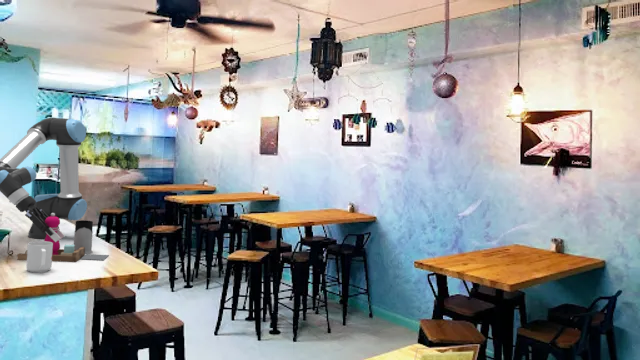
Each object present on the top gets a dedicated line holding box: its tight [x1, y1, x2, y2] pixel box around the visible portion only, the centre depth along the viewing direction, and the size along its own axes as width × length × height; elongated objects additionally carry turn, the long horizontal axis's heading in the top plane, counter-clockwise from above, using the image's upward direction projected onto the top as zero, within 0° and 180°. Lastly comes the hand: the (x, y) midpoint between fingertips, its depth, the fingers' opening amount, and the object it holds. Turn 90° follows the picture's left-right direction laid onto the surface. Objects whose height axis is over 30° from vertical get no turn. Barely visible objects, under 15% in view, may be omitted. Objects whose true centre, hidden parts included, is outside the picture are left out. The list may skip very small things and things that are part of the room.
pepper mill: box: [43, 213, 61, 255], centre depth 216 cm, size 7×7×20 cm
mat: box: [79, 253, 110, 261], centre depth 223 cm, size 10×10×1 cm
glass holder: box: [73, 219, 94, 255], centre depth 234 cm, size 9×14×15 cm, turn 27°
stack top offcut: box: [63, 244, 75, 253], centre depth 219 cm, size 4×4×3 cm
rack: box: [16, 247, 86, 263], centre depth 217 cm, size 14×24×4 cm, turn 101°
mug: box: [25, 240, 53, 273], centre depth 194 cm, size 12×9×11 cm
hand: (60, 238), depth 217 cm, fingers closed on pepper mill, 5 cm apart
